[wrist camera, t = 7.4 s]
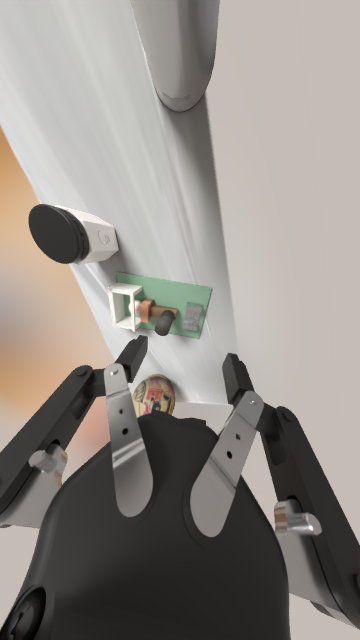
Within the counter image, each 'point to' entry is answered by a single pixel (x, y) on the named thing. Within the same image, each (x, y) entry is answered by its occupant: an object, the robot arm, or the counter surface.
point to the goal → (118, 305)
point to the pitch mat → (167, 300)
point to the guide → (192, 316)
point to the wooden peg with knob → (158, 315)
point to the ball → (136, 307)
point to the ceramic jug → (154, 395)
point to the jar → (71, 235)
